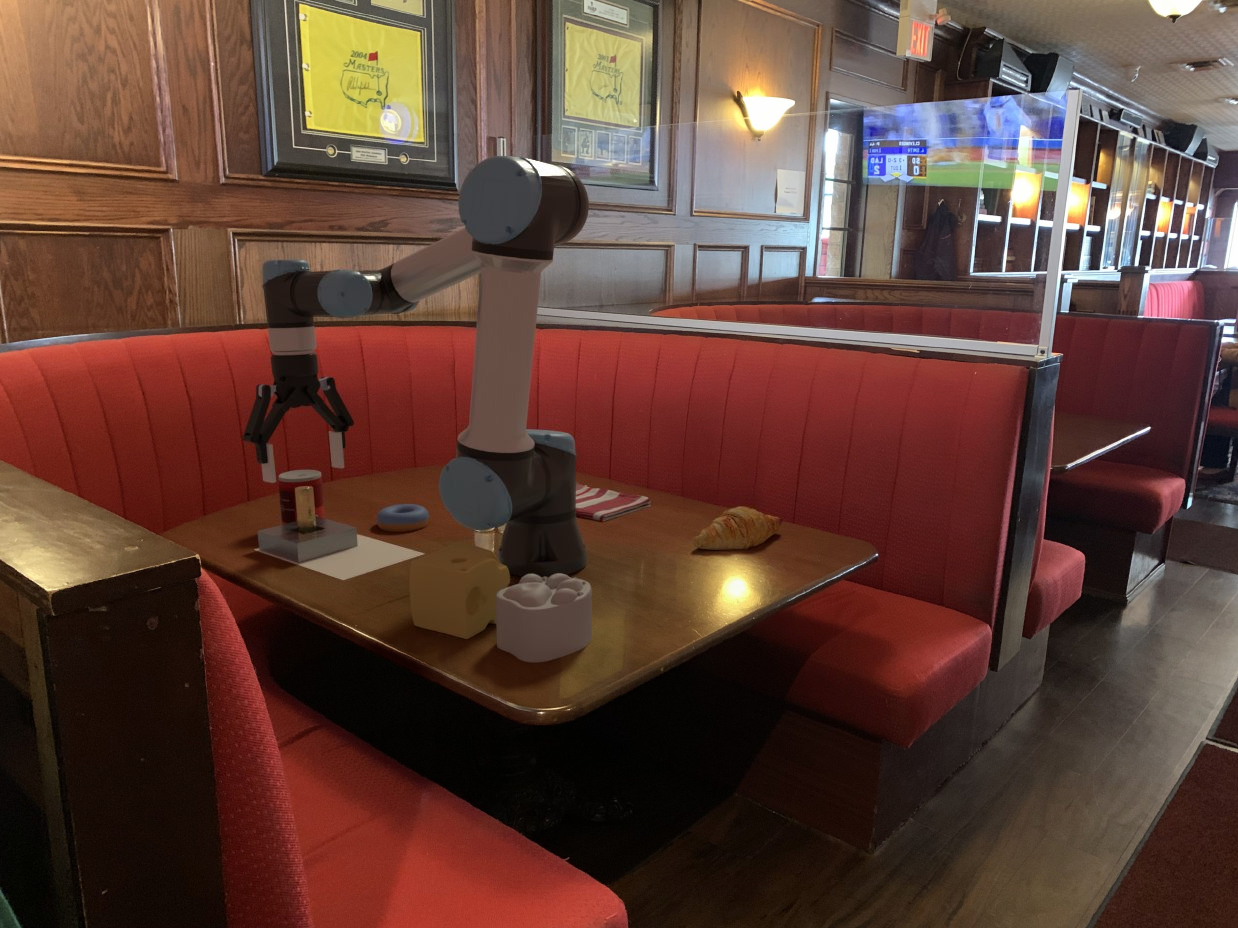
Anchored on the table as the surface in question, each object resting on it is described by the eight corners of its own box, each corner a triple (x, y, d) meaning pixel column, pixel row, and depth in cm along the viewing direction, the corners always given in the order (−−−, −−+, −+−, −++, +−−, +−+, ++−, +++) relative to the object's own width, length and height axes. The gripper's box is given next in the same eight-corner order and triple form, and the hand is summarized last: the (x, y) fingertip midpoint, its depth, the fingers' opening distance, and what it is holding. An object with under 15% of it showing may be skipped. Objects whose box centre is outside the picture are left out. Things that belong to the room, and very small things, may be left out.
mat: (425, 555, 157) (425, 553, 157) (343, 582, 143) (343, 580, 143) (335, 529, 172) (335, 527, 172) (253, 551, 159) (253, 549, 159)
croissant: (704, 575, 158) (719, 542, 153) (672, 537, 164) (685, 504, 159) (788, 550, 170) (804, 519, 165) (755, 516, 176) (770, 485, 171)
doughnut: (419, 516, 181) (416, 494, 179) (438, 530, 173) (435, 508, 171) (371, 528, 176) (368, 506, 175) (388, 543, 168) (384, 521, 166)
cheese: (513, 616, 130) (512, 551, 128) (465, 643, 121) (462, 572, 119) (458, 603, 135) (456, 539, 133) (408, 627, 126) (404, 559, 124)
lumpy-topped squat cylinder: (487, 642, 121) (485, 581, 119) (562, 617, 129) (562, 560, 128) (533, 667, 113) (532, 603, 112) (610, 639, 122) (610, 579, 120)
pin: (321, 547, 160) (316, 487, 158) (306, 551, 158) (301, 490, 155) (311, 544, 162) (306, 485, 159) (296, 548, 159) (291, 488, 157)
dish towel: (571, 490, 205) (571, 479, 204) (653, 507, 190) (653, 495, 190) (518, 505, 192) (518, 493, 192) (601, 525, 178) (601, 512, 177)
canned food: (331, 524, 176) (327, 469, 173) (314, 536, 168) (310, 479, 166) (294, 523, 176) (290, 468, 174) (275, 534, 169) (270, 478, 166)
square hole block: (357, 546, 161) (356, 527, 160) (298, 563, 151) (297, 543, 151) (317, 534, 168) (316, 516, 167) (259, 549, 159) (257, 530, 158)
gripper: (342, 346, 164) (351, 459, 168) (211, 357, 145) (226, 485, 149) (367, 347, 160) (376, 464, 164) (236, 359, 140) (250, 491, 145)
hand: (305, 474), depth 156 cm, fingers open, 13 cm apart
